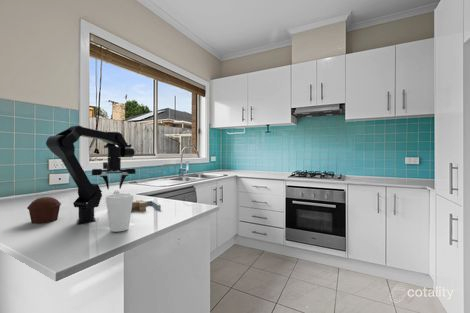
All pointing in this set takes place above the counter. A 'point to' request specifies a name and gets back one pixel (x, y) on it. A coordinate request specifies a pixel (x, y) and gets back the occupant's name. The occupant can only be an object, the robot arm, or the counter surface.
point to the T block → (138, 205)
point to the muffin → (44, 210)
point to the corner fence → (153, 204)
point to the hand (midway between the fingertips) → (114, 189)
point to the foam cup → (119, 211)
